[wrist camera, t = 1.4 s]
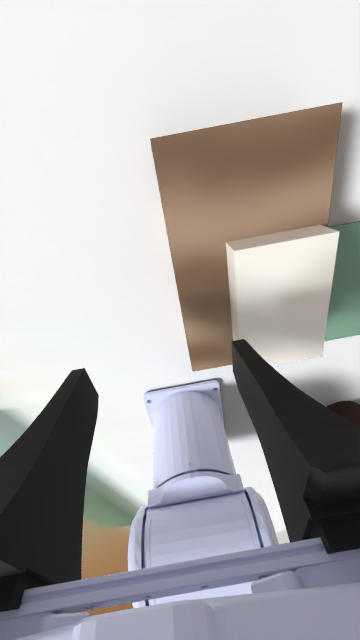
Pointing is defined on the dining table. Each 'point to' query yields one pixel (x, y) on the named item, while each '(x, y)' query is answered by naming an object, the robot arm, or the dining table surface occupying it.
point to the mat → (345, 285)
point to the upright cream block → (282, 291)
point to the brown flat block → (238, 205)
